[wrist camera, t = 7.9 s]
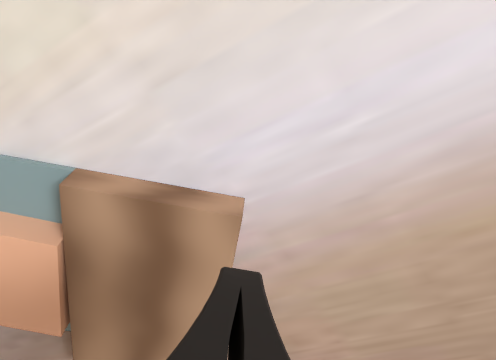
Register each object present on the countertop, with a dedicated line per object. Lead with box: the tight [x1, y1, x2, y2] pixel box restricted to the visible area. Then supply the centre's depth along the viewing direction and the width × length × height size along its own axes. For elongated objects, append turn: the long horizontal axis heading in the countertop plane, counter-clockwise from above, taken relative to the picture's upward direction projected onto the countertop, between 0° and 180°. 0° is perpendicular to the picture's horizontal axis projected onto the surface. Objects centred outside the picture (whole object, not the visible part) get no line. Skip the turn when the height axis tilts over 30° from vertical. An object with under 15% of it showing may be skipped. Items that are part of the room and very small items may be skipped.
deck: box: [59, 168, 245, 360], centre depth 25 cm, size 10×16×2 cm, turn 170°
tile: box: [0, 211, 70, 337], centre depth 24 cm, size 6×8×2 cm
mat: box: [0, 155, 76, 331], centre depth 25 cm, size 8×14×1 cm, turn 170°
